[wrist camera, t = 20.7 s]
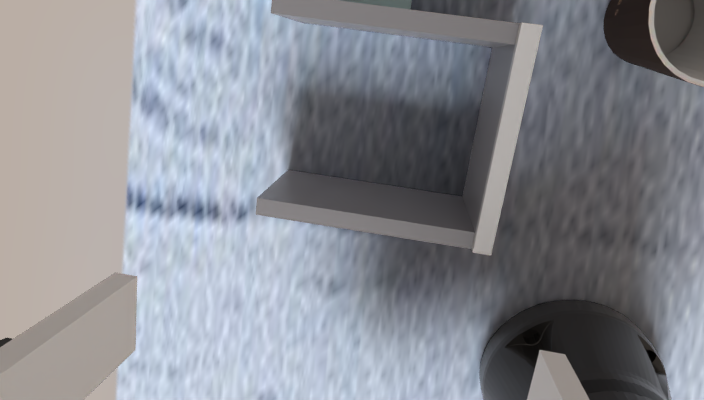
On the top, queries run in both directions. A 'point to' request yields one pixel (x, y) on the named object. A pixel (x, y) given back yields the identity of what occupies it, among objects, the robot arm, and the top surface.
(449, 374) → the top surface
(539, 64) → the top surface
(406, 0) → the tray
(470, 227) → the bay
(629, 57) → the coffee mug
